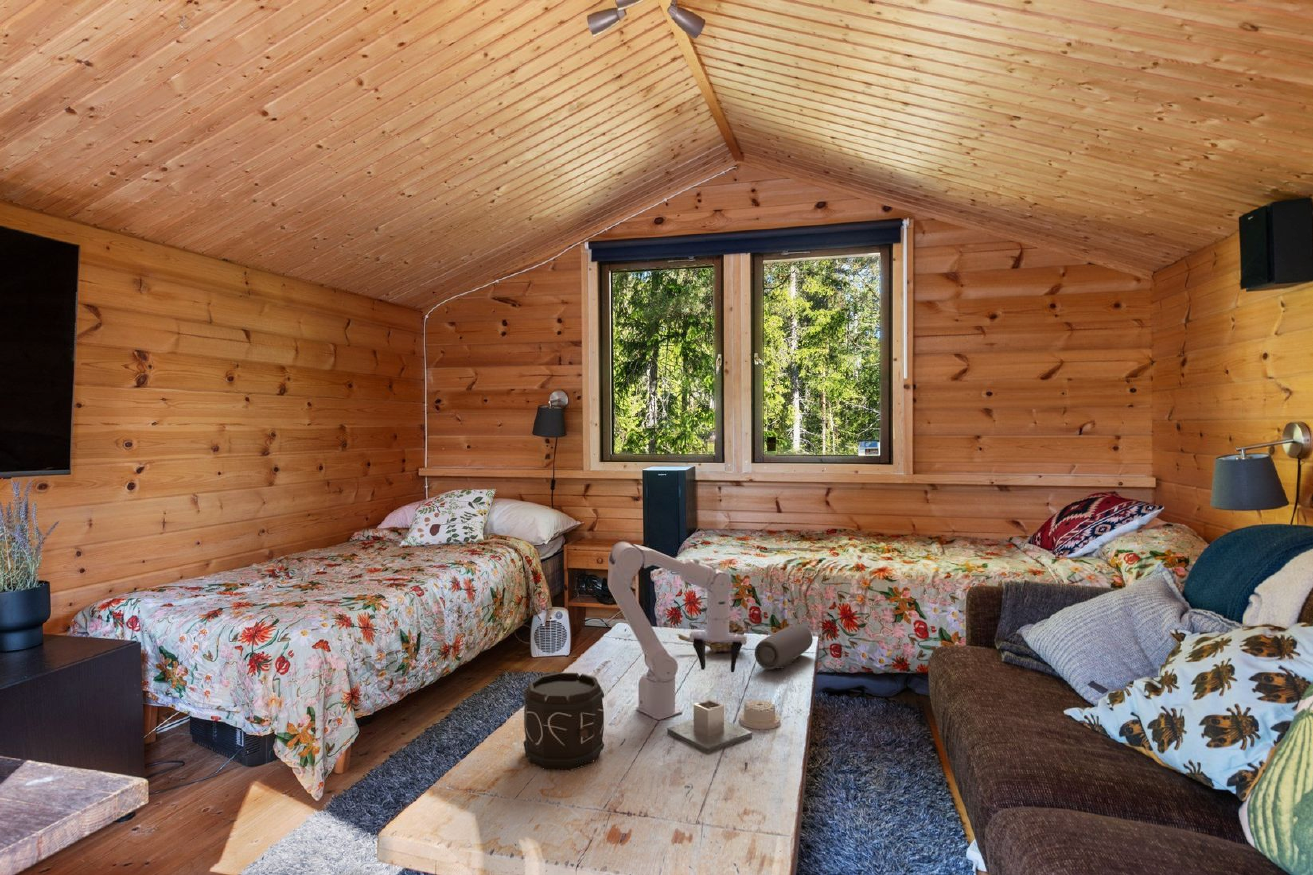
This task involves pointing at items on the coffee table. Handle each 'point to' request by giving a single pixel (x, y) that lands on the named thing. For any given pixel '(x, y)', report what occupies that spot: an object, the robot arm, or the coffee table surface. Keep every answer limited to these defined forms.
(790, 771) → the coffee table surface
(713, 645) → the pine cone
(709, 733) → the collar
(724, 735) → the post plate
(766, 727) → the mechanical component
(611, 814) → the coffee table surface
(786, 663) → the bluetooth speaker
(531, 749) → the wooden barrel
